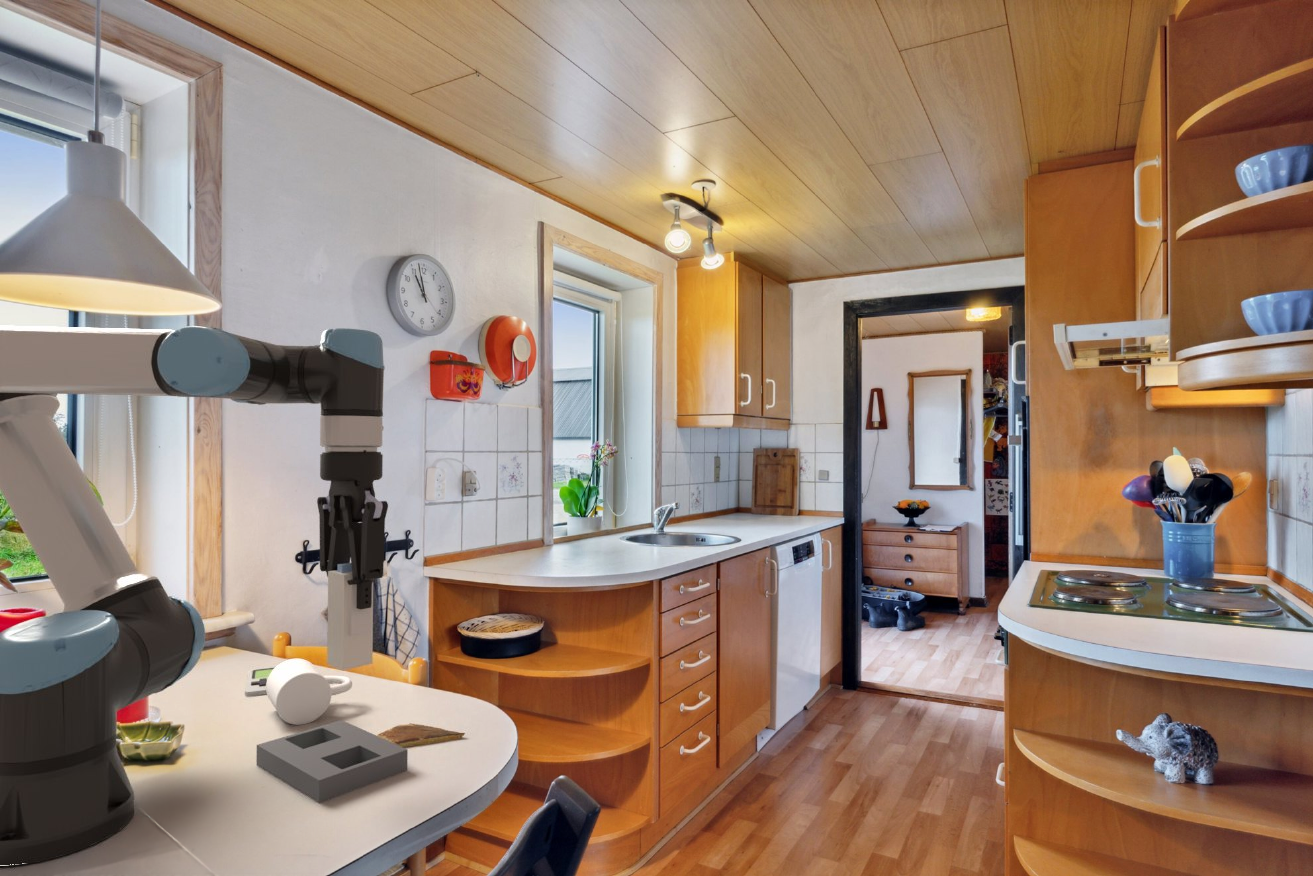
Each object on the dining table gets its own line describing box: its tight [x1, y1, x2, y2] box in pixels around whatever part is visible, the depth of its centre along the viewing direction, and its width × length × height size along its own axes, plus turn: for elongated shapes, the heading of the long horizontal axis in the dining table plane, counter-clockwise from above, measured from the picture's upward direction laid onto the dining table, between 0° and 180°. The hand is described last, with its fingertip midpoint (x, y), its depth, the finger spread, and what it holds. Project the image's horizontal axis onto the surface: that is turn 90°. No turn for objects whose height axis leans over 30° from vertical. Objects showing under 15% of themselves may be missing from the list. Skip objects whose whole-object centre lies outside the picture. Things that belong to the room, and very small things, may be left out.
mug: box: [266, 658, 353, 726], centre depth 124 cm, size 12×10×8 cm
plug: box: [326, 562, 374, 671], centre depth 99 cm, size 4×4×13 cm
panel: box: [256, 719, 408, 804], centre depth 102 cm, size 12×17×3 cm
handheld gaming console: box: [244, 665, 277, 698], centre depth 140 cm, size 10×2×15 cm
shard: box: [376, 722, 466, 748], centre depth 111 cm, size 11×8×2 cm
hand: (350, 630), depth 99 cm, fingers closed on plug, 4 cm apart
